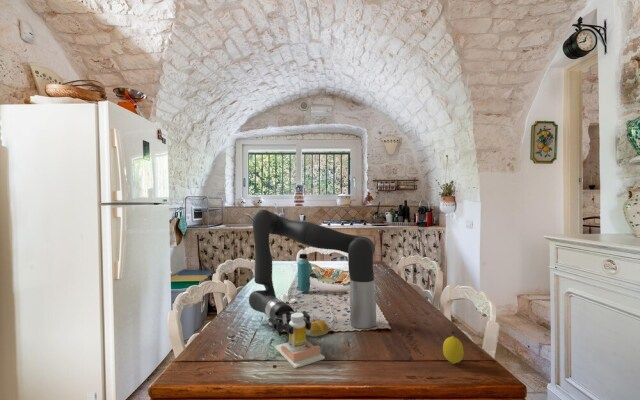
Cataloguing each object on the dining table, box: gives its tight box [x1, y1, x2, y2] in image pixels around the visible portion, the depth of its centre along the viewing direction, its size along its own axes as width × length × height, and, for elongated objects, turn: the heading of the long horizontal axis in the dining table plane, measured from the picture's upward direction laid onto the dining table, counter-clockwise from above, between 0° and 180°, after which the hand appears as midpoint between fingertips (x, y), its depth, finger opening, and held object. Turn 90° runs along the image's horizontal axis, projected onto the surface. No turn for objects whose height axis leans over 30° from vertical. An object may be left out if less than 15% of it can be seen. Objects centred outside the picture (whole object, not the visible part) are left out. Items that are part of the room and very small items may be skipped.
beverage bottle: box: [296, 253, 311, 292], centre depth 164 cm, size 6×7×20 cm
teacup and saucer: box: [278, 293, 297, 304], centre depth 148 cm, size 9×8×4 cm
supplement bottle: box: [288, 312, 307, 349], centre depth 100 cm, size 5×5×10 cm
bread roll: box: [306, 320, 330, 338], centre depth 115 cm, size 8×9×4 cm
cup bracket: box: [274, 339, 326, 369], centre depth 99 cm, size 15×10×3 cm, turn 31°
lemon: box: [442, 335, 465, 365], centre depth 92 cm, size 6×6×8 cm
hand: (301, 328), depth 98 cm, fingers closed on supplement bottle, 5 cm apart
